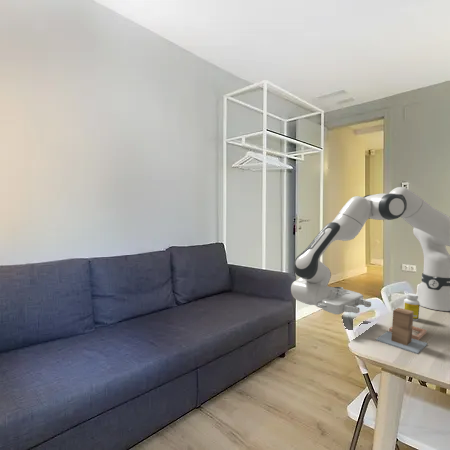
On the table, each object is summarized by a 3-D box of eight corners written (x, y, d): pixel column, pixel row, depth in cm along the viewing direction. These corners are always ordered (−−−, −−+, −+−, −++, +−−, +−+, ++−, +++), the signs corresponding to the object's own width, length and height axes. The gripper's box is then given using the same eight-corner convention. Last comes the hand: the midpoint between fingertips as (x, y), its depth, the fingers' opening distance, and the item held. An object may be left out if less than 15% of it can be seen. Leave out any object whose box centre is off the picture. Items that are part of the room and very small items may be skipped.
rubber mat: (387, 332, 108) (387, 331, 108) (427, 344, 99) (427, 343, 99) (375, 340, 101) (376, 339, 101) (417, 354, 93) (417, 352, 93)
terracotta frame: (398, 325, 115) (398, 322, 115) (426, 333, 109) (426, 330, 108) (389, 331, 109) (389, 328, 109) (418, 340, 102) (418, 337, 102)
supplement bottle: (420, 322, 119) (422, 297, 119) (405, 320, 120) (407, 295, 120) (415, 317, 125) (416, 293, 124) (400, 315, 126) (402, 292, 125)
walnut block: (396, 336, 104) (398, 307, 103) (411, 341, 100) (413, 311, 100) (391, 340, 100) (393, 310, 100) (406, 345, 97) (408, 314, 96)
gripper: (314, 295, 112) (351, 305, 102) (341, 286, 126) (376, 293, 116) (313, 312, 113) (350, 323, 102) (341, 301, 126) (376, 310, 116)
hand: (364, 307), depth 109 cm, fingers open, 8 cm apart
